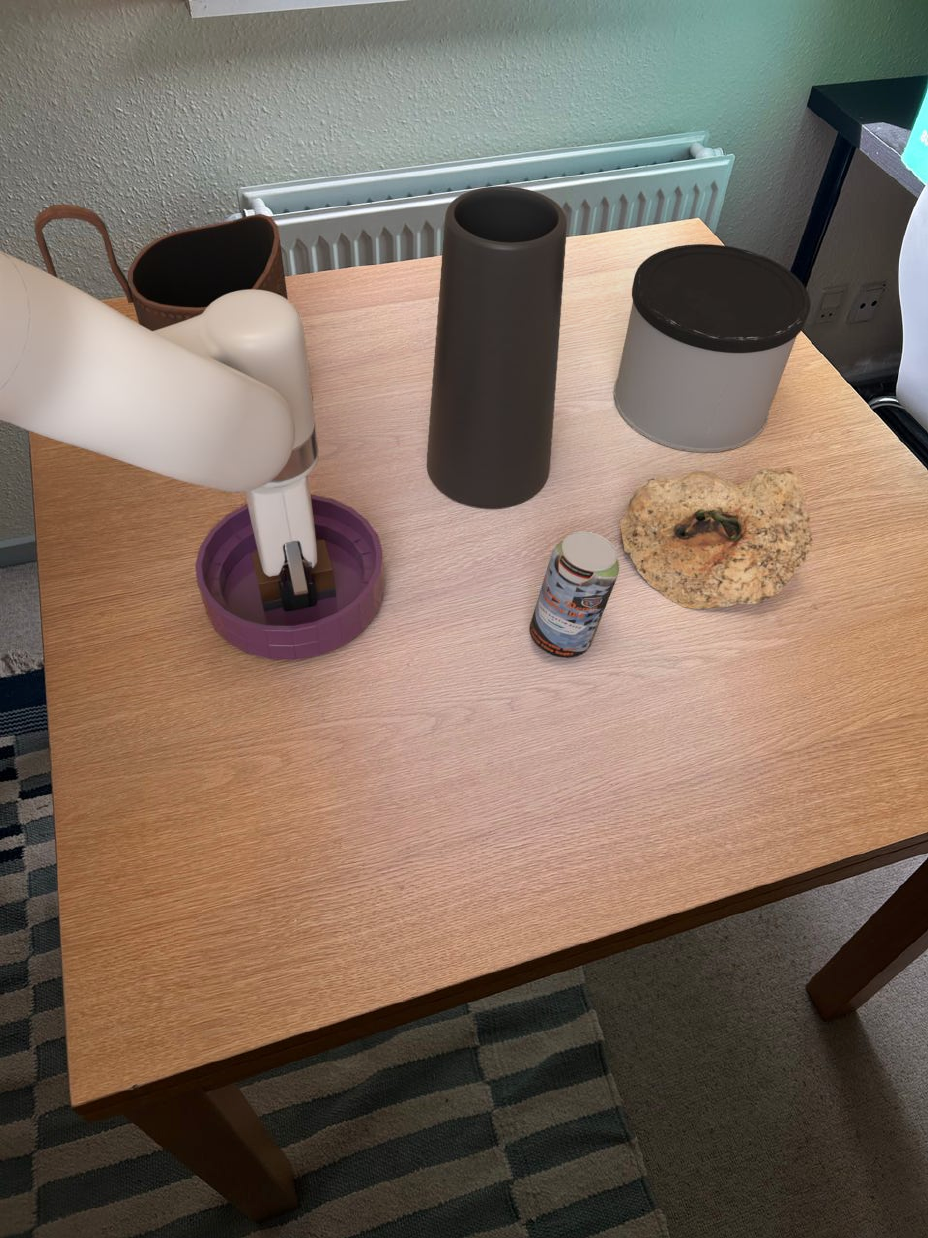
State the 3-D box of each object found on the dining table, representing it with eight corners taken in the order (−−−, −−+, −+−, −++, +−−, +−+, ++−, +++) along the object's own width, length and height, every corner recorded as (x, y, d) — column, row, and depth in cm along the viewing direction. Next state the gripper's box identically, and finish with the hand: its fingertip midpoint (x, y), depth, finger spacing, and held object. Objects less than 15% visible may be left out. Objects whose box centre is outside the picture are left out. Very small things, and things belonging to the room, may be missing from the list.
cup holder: (329, 436, 104) (307, 225, 84) (111, 479, 99) (33, 264, 79) (293, 342, 115) (266, 136, 95) (95, 377, 109) (22, 165, 90)
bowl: (315, 693, 82) (309, 660, 78) (168, 614, 87) (156, 580, 83) (416, 571, 92) (416, 536, 88) (279, 506, 97) (273, 471, 93)
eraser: (264, 611, 87) (258, 584, 84) (257, 580, 90) (251, 553, 86) (336, 596, 89) (333, 569, 86) (327, 566, 91) (324, 538, 88)
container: (665, 471, 102) (696, 357, 90) (583, 374, 113) (602, 261, 101) (801, 429, 107) (847, 317, 96) (711, 341, 118) (743, 229, 106)
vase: (537, 519, 97) (572, 267, 74) (413, 496, 98) (409, 242, 76) (558, 437, 105) (594, 187, 83) (442, 417, 107) (447, 167, 84)
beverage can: (515, 640, 87) (526, 555, 77) (563, 598, 90) (579, 511, 81) (566, 678, 84) (584, 595, 75) (614, 633, 88) (637, 548, 78)
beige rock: (645, 641, 95) (633, 614, 88) (625, 520, 101) (613, 486, 94) (827, 608, 90) (828, 576, 84) (795, 483, 96) (795, 444, 89)
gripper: (211, 387, 79) (243, 535, 93) (239, 522, 69) (271, 664, 83) (297, 374, 80) (316, 521, 95) (337, 504, 71) (352, 646, 85)
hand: (295, 587), depth 89 cm, fingers closed on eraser, 4 cm apart
